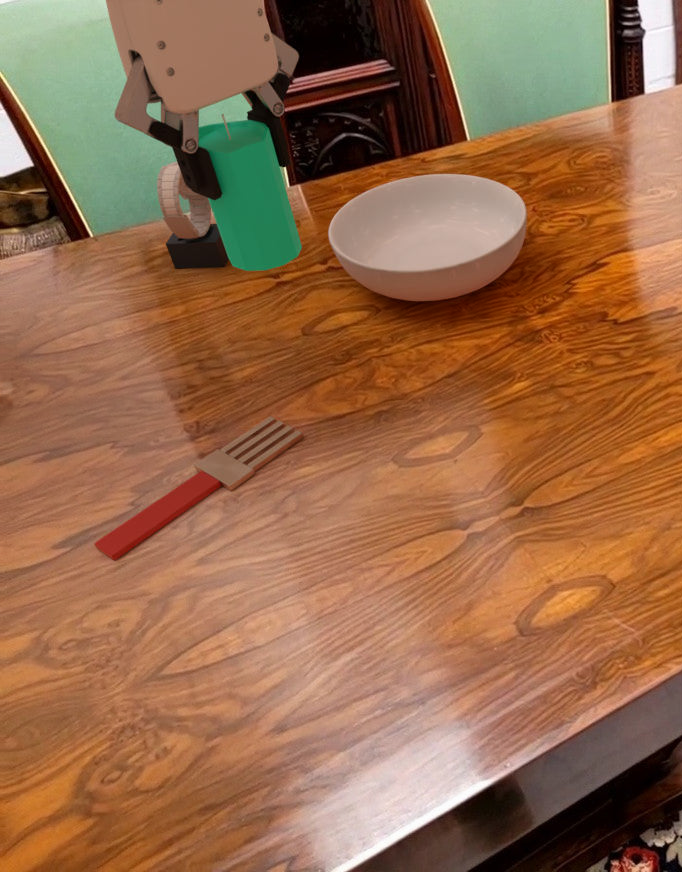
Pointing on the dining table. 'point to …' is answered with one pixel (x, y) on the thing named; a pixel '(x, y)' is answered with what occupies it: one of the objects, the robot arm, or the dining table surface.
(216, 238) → the watch
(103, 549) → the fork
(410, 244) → the serving bowl
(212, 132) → the candle
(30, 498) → the dining table surface
